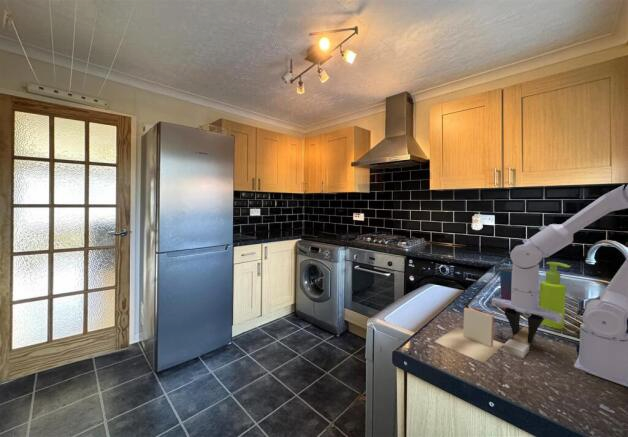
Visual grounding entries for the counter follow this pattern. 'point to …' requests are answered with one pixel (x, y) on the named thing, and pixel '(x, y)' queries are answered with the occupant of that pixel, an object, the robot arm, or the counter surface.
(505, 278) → the cup
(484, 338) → the tile
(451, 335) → the cork mat
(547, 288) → the soap dispenser
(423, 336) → the counter surface
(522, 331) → the turner
